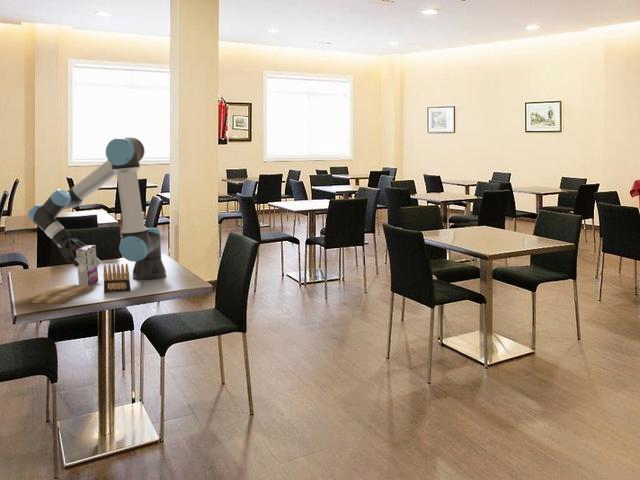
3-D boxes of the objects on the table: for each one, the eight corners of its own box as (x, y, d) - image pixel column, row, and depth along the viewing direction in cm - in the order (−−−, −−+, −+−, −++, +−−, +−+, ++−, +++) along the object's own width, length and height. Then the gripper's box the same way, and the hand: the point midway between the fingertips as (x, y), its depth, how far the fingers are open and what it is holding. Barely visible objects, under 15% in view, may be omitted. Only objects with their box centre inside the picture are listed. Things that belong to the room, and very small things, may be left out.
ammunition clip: (130, 290, 260) (129, 262, 258) (130, 291, 258) (128, 263, 256) (104, 291, 258) (102, 263, 256) (104, 292, 257) (102, 264, 255)
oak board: (92, 288, 263) (91, 285, 263) (62, 303, 240) (61, 299, 239) (61, 288, 265) (61, 284, 265) (29, 302, 241) (28, 298, 241)
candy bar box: (87, 280, 279) (85, 245, 277) (98, 280, 279) (96, 245, 276) (77, 286, 268) (75, 249, 265) (89, 286, 268) (86, 249, 265)
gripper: (67, 235, 285) (100, 267, 285) (36, 244, 260) (72, 279, 261) (77, 224, 283) (110, 256, 284) (47, 232, 259) (83, 267, 259)
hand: (92, 267), depth 272 cm, fingers open, 13 cm apart
